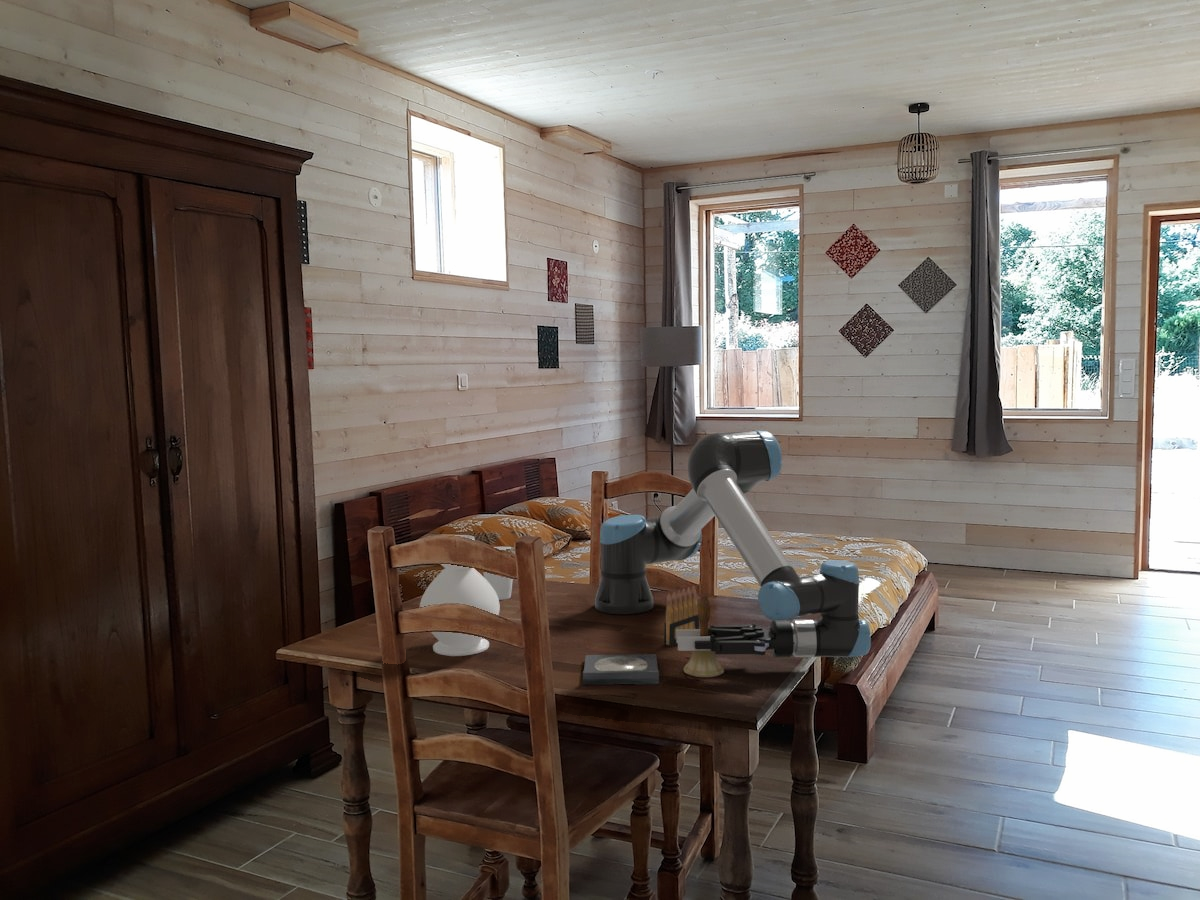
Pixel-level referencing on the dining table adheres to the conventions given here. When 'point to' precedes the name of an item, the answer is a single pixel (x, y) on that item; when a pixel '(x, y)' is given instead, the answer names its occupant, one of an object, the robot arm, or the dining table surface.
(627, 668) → the plate
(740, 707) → the dining table surface
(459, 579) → the decorative vase
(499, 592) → the foam cup
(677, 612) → the ammunition clip
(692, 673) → the hand bell
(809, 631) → the robot arm
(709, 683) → the dining table surface
